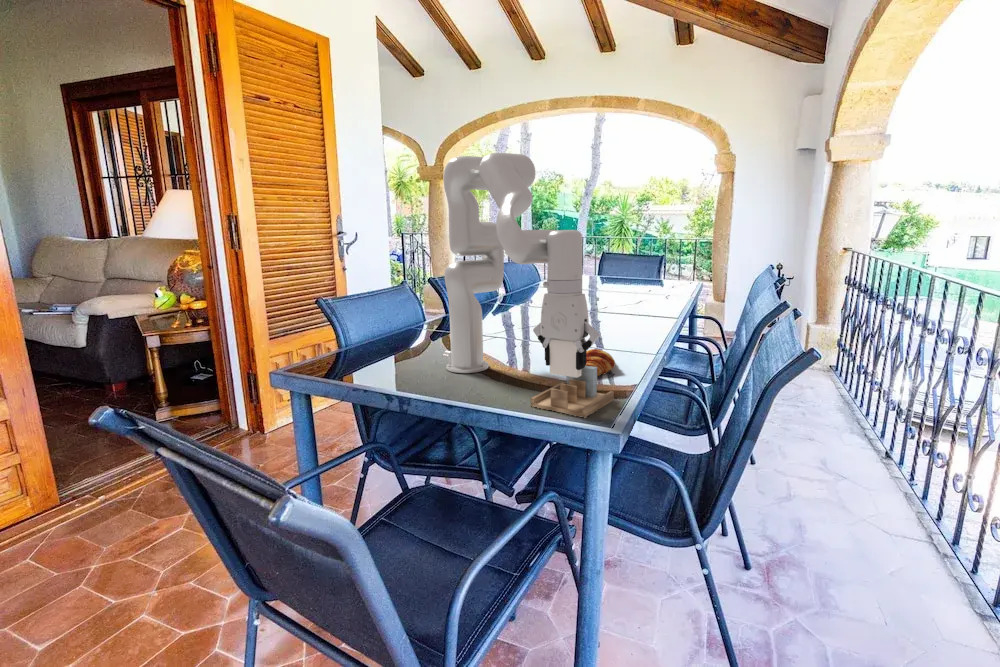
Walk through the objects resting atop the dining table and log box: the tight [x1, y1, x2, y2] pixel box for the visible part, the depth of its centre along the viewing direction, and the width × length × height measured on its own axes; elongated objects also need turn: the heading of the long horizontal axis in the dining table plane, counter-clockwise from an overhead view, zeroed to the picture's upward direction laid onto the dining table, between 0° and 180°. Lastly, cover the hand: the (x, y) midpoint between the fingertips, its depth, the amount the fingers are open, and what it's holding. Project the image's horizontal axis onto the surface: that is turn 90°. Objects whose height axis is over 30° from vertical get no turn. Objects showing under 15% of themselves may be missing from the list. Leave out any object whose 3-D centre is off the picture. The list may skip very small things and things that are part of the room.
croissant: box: [585, 348, 616, 377], centre depth 151 cm, size 21×10×8 cm, turn 153°
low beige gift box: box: [549, 339, 581, 378], centre depth 117 cm, size 7×2×8 cm, turn 54°
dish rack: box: [530, 366, 615, 418], centre depth 123 cm, size 14×15×8 cm
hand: (565, 365), depth 118 cm, fingers closed on low beige gift box, 7 cm apart
